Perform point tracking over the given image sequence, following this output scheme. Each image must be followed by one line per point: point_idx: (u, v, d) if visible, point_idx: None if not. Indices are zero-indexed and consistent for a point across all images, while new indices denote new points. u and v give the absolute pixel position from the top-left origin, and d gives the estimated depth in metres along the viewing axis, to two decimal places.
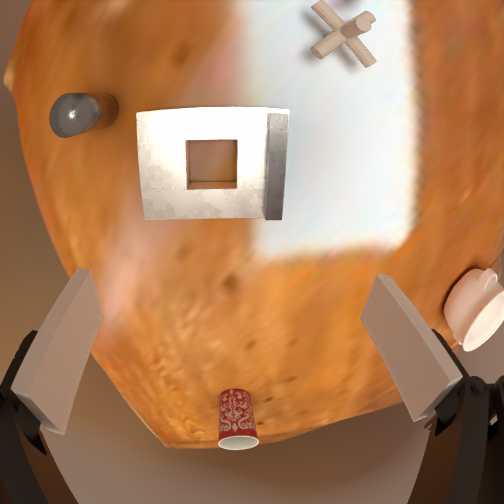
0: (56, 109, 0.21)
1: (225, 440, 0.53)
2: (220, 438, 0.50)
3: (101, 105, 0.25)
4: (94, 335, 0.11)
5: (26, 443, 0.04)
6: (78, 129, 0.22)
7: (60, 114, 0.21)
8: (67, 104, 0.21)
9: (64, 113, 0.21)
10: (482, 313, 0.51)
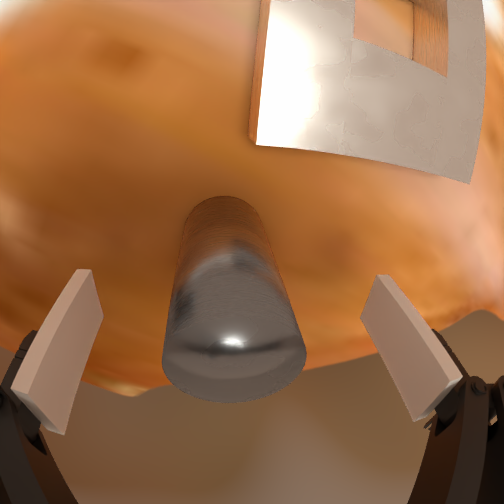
0: (208, 389, 0.09)
1: None
2: None
3: (218, 244, 0.11)
4: (94, 335, 0.11)
5: (26, 443, 0.04)
6: (295, 338, 0.08)
7: (226, 381, 0.09)
8: (198, 365, 0.08)
9: (226, 374, 0.09)
10: None
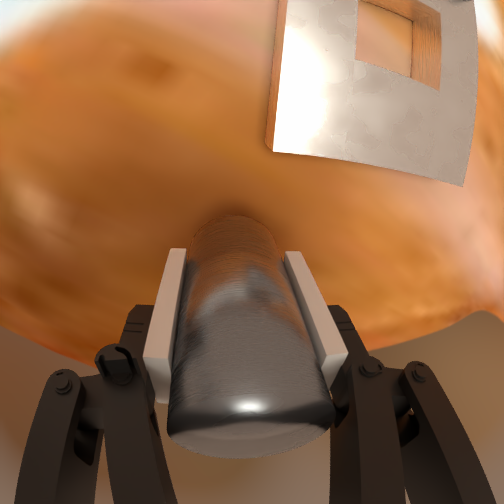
0: (220, 450, 0.07)
1: None
2: None
3: (231, 283, 0.09)
4: None
5: (150, 425, 0.06)
6: (326, 406, 0.06)
7: (241, 444, 0.07)
8: (209, 433, 0.06)
9: (242, 439, 0.07)
10: None
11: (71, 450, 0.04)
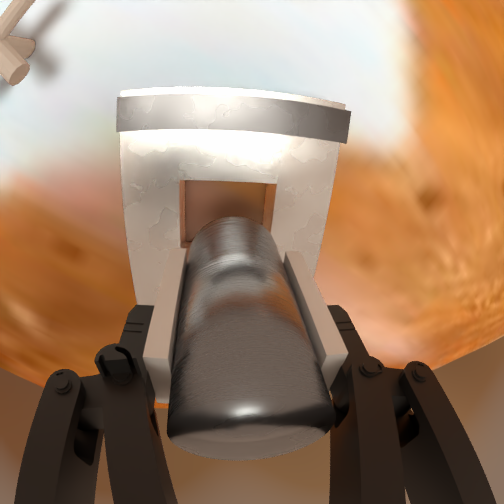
0: (221, 452, 0.07)
1: None
2: None
3: (231, 286, 0.09)
4: None
5: (150, 425, 0.06)
6: (326, 409, 0.06)
7: (241, 446, 0.07)
8: (210, 435, 0.06)
9: (242, 441, 0.07)
10: None
11: (71, 450, 0.04)
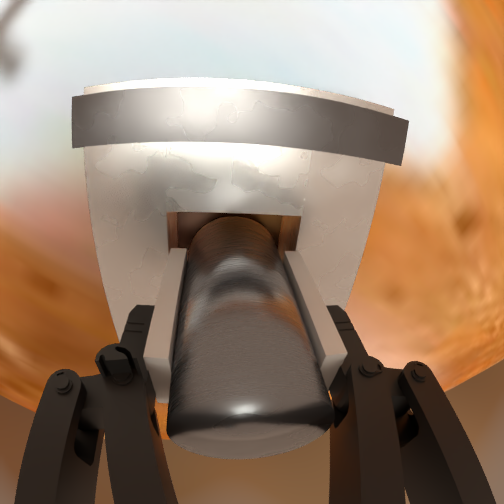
0: (220, 450, 0.07)
1: None
2: None
3: (230, 285, 0.09)
4: None
5: (151, 425, 0.06)
6: (325, 407, 0.06)
7: (240, 445, 0.07)
8: (209, 434, 0.06)
9: (241, 439, 0.07)
10: None
11: (71, 450, 0.04)
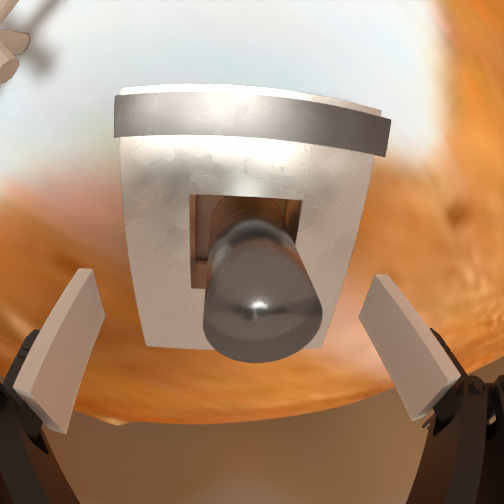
0: (239, 348, 0.11)
1: None
2: None
3: (248, 226, 0.13)
4: (96, 334, 0.11)
5: (28, 442, 0.04)
6: (314, 298, 0.10)
7: (255, 340, 0.11)
8: (233, 322, 0.11)
9: (256, 332, 0.11)
10: None
11: None
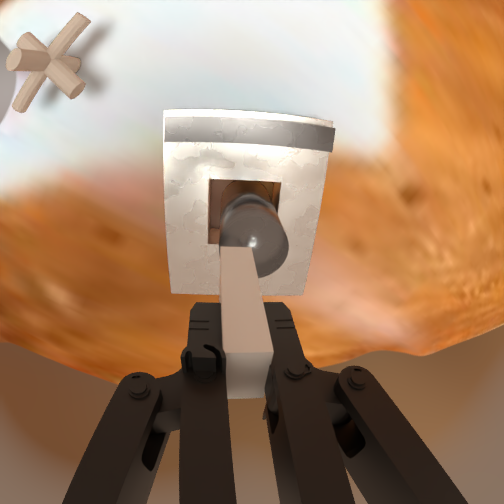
0: None
1: None
2: None
3: (245, 197, 0.22)
4: None
5: None
6: (282, 232, 0.19)
7: None
8: (236, 246, 0.19)
9: None
10: None
11: (139, 458, 0.05)
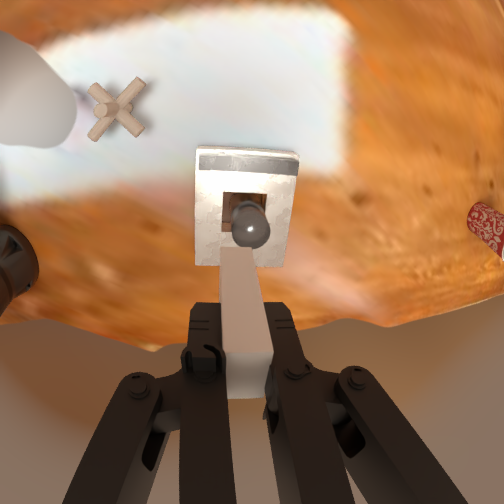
0: (243, 241, 0.35)
1: None
2: (501, 257, 0.40)
3: (246, 203, 0.37)
4: None
5: None
6: (266, 222, 0.34)
7: (248, 238, 0.35)
8: (241, 230, 0.35)
9: (248, 234, 0.35)
10: None
11: (139, 458, 0.05)
